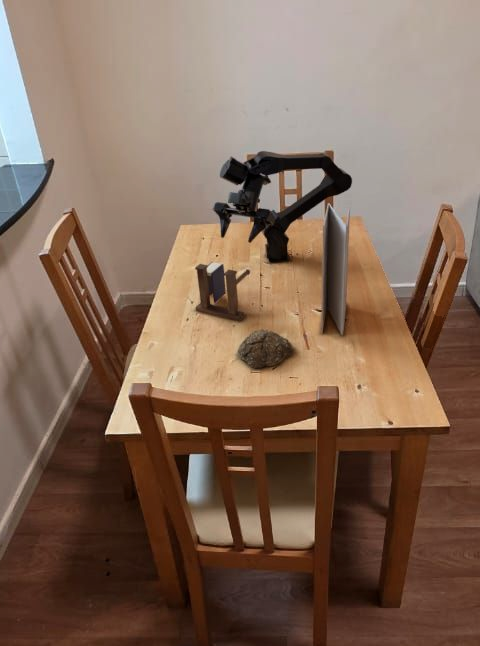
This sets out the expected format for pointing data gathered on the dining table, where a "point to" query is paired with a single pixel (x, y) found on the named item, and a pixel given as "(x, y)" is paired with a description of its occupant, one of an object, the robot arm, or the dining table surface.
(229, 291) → the peg stand
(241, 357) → the grey brown rock
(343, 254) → the brochure
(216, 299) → the book
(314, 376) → the dining table surface
